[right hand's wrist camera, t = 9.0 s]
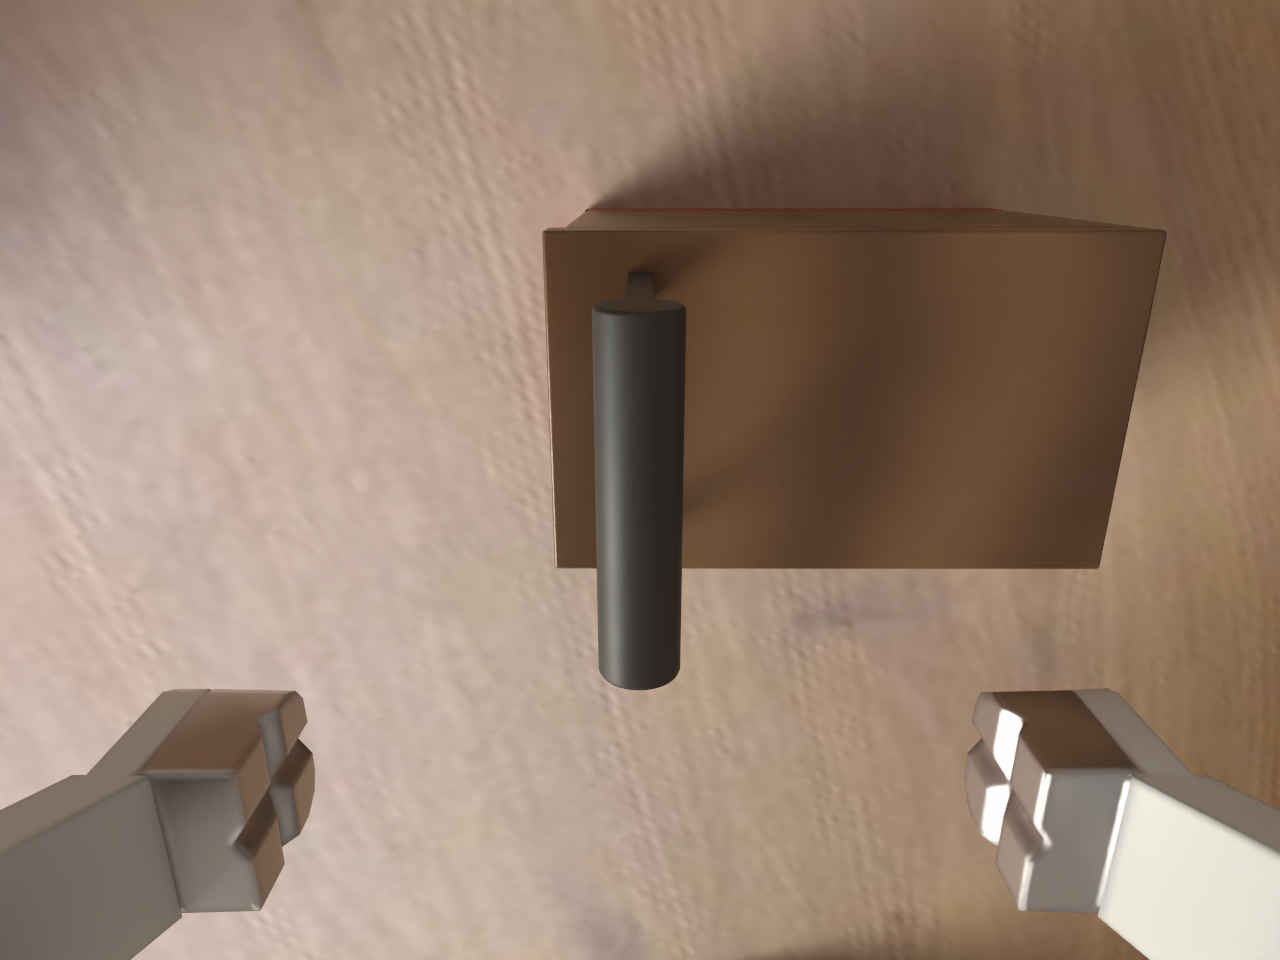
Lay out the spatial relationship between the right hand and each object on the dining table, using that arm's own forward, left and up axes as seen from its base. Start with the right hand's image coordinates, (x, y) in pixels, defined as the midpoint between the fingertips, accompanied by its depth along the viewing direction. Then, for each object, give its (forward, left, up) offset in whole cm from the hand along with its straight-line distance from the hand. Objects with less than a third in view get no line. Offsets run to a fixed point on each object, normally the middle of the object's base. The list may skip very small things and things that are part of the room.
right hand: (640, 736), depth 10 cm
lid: (+4, +4, -16) cm, 17 cm away
